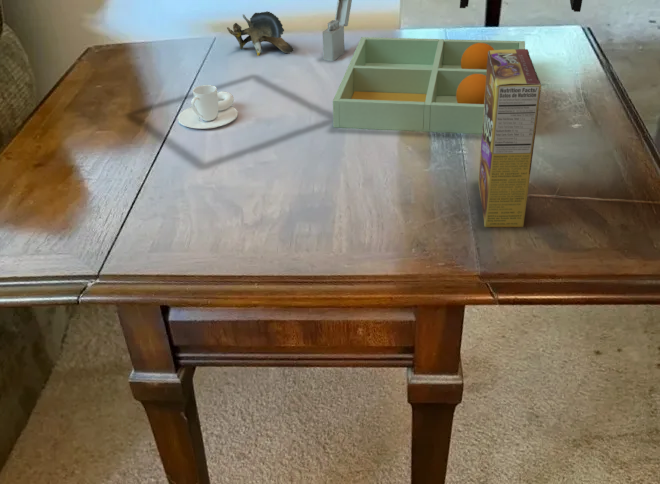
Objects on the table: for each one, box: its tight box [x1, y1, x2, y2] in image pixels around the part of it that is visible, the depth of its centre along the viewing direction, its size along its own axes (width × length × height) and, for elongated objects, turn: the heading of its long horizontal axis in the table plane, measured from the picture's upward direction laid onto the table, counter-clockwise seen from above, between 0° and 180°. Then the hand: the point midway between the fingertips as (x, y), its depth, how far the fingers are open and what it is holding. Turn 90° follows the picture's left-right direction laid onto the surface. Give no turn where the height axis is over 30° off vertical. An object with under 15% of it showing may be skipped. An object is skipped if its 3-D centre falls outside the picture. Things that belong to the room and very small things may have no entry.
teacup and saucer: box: [177, 84, 239, 130], centre depth 101 cm, size 9×8×4 cm
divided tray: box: [332, 36, 526, 135], centre depth 103 cm, size 23×23×4 cm
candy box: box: [477, 48, 542, 228], centre depth 76 cm, size 9×4×15 cm, turn 175°
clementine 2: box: [456, 74, 486, 104], centre depth 97 cm, size 5×5×5 cm
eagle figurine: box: [226, 10, 295, 57], centre depth 119 cm, size 8×7×9 cm
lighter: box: [322, 0, 353, 62], centre depth 116 cm, size 7×2×8 cm, turn 153°
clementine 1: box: [461, 43, 494, 70], centre depth 105 cm, size 5×5×5 cm
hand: (518, 5), depth 68 cm, fingers open, 9 cm apart
